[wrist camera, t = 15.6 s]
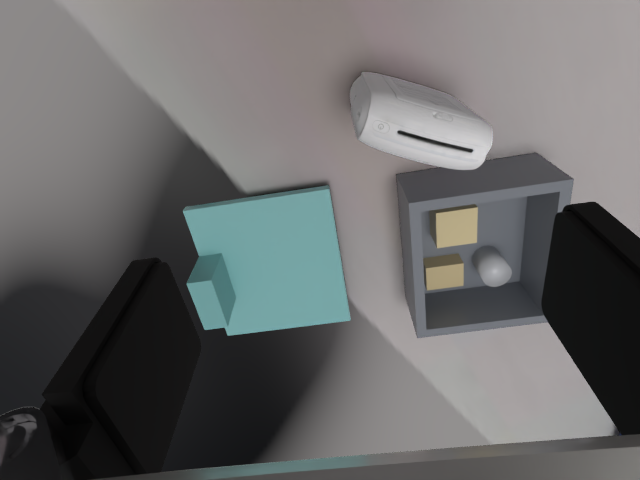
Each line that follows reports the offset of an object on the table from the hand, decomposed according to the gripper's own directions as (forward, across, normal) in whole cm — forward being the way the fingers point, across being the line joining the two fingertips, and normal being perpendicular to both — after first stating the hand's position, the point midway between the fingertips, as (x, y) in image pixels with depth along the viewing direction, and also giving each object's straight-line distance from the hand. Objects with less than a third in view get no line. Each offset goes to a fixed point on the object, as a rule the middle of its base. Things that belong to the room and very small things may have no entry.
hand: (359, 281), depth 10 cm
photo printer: (+32, -6, +5) cm, 33 cm away
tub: (+32, -12, +20) cm, 39 cm away
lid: (+32, +10, +20) cm, 39 cm away
